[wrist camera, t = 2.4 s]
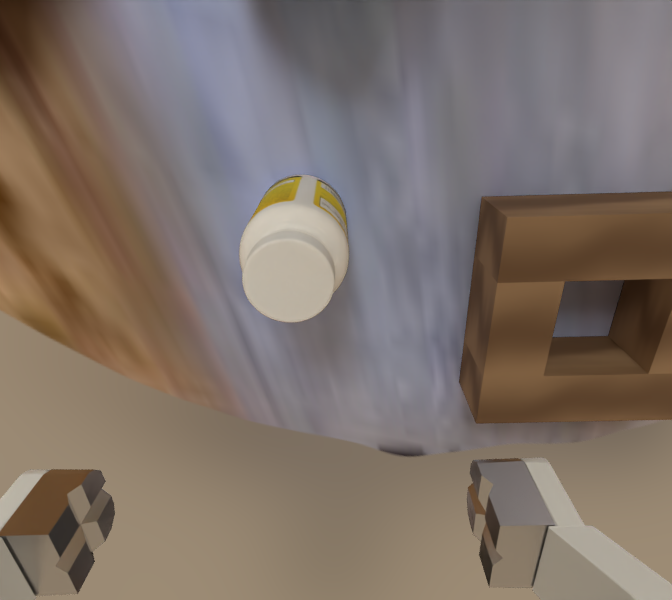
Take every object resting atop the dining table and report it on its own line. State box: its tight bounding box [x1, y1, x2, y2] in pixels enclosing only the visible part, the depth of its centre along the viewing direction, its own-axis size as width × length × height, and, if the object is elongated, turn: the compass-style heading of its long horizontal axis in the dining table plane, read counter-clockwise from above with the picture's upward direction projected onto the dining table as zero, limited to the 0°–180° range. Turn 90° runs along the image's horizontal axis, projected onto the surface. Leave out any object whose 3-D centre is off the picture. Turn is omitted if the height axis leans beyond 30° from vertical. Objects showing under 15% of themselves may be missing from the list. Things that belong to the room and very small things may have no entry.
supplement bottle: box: [239, 175, 349, 323], centre depth 23 cm, size 5×5×10 cm
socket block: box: [459, 192, 672, 423], centre depth 28 cm, size 14×14×4 cm
